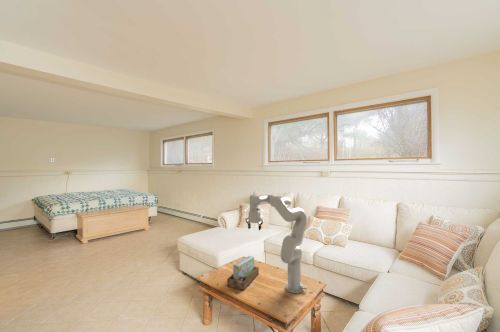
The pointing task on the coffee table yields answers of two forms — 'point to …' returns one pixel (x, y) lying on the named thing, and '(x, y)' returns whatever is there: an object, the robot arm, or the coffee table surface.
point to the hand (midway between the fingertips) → (254, 229)
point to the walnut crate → (246, 283)
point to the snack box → (243, 269)
